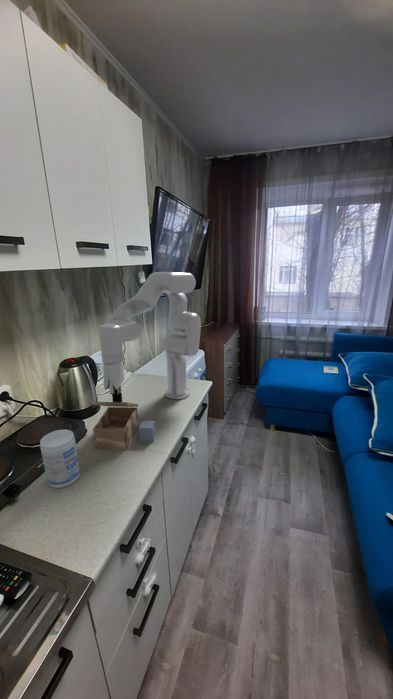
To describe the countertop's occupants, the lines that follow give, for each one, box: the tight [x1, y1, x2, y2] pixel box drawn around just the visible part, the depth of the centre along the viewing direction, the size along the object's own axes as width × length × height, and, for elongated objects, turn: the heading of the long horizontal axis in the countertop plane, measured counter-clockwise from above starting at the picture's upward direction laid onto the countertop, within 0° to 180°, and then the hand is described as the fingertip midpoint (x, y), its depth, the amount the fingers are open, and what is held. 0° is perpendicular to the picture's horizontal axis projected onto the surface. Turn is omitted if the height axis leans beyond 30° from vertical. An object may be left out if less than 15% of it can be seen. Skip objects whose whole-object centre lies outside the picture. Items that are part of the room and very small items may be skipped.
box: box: [92, 406, 140, 450], centre depth 110 cm, size 16×12×8 cm
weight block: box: [138, 420, 157, 443], centre depth 109 cm, size 5×5×6 cm
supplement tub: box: [39, 429, 81, 489], centre depth 87 cm, size 10×10×15 cm
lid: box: [91, 401, 139, 408], centre depth 109 cm, size 16×12×1 cm
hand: (117, 402), depth 110 cm, fingers closed
